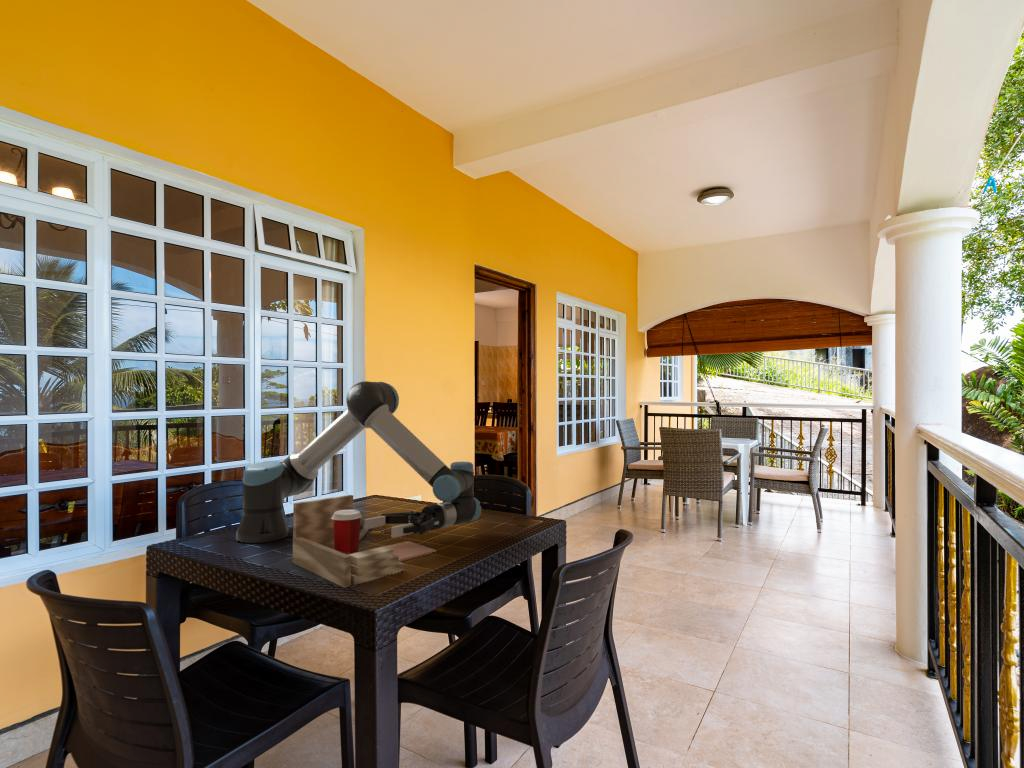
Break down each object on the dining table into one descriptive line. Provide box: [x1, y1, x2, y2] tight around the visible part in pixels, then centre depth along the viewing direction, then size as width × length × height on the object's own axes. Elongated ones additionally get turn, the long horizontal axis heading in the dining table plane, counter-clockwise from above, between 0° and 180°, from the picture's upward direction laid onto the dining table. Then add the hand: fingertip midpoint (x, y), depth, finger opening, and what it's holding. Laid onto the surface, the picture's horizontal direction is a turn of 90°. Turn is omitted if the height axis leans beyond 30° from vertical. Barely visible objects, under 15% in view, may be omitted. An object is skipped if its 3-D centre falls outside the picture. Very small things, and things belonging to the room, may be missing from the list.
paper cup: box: [331, 509, 363, 555], centre depth 144 cm, size 8×8×14 cm
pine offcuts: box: [348, 546, 405, 586], centre depth 135 cm, size 14×5×6 cm, turn 136°
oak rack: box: [292, 494, 354, 589], centre depth 143 cm, size 17×28×16 cm, turn 46°
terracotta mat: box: [383, 540, 438, 563], centre depth 155 cm, size 14×14×1 cm
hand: (378, 528), depth 151 cm, fingers open, 13 cm apart
